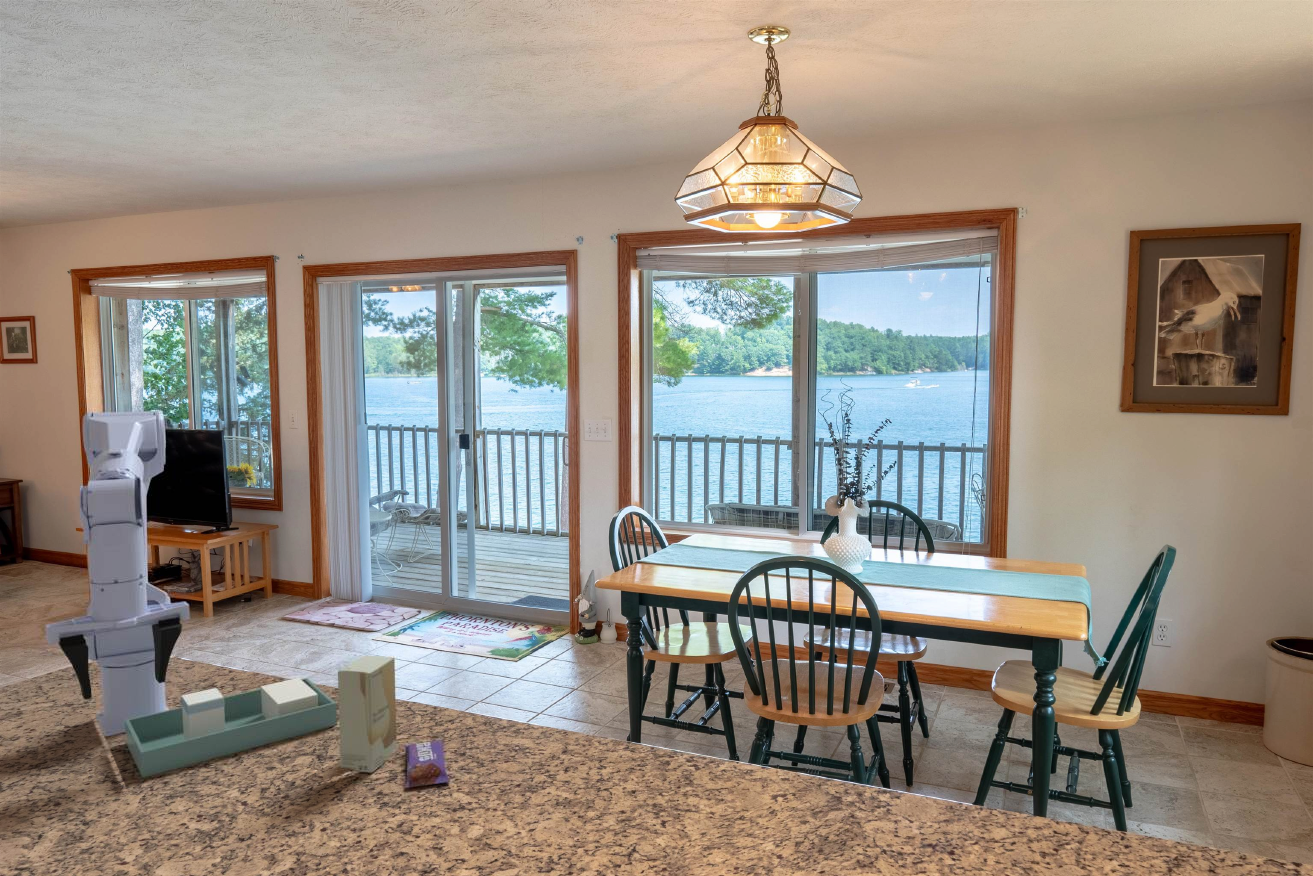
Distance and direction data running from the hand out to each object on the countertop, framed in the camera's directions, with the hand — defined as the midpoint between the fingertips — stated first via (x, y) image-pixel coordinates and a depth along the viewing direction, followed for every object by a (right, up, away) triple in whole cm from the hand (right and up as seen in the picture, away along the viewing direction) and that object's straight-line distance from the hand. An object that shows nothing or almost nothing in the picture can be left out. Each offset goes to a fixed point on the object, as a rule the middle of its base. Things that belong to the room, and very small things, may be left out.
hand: (124, 688), depth 103 cm
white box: (+15, -8, +12) cm, 21 cm away
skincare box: (+30, -9, +1) cm, 31 cm away
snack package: (+37, -10, -1) cm, 38 cm away
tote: (+10, -9, +7) cm, 15 cm away
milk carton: (+7, -8, +5) cm, 12 cm away
